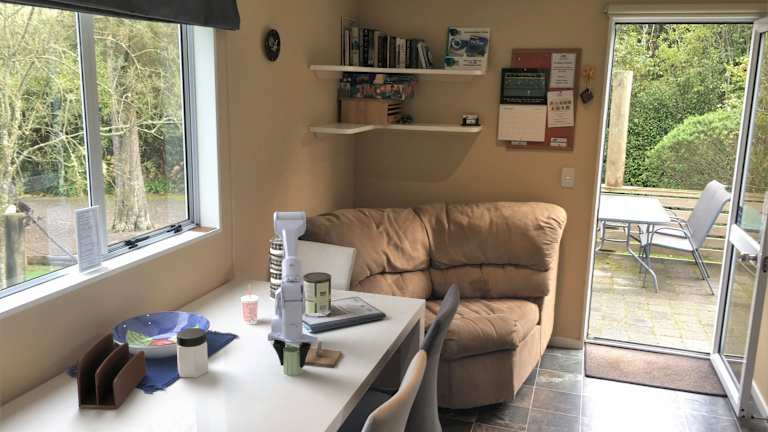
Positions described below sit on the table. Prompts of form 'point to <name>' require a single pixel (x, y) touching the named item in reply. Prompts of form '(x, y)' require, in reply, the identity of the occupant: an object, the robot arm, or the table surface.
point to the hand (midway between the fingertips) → (292, 365)
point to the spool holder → (322, 356)
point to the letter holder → (107, 374)
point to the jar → (192, 352)
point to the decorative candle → (275, 265)
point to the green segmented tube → (291, 360)
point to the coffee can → (317, 292)
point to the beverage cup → (250, 308)
